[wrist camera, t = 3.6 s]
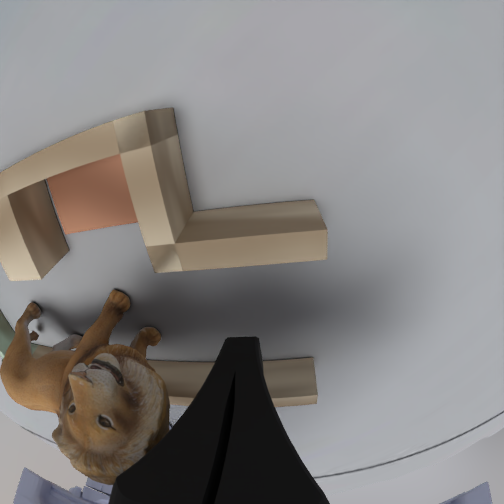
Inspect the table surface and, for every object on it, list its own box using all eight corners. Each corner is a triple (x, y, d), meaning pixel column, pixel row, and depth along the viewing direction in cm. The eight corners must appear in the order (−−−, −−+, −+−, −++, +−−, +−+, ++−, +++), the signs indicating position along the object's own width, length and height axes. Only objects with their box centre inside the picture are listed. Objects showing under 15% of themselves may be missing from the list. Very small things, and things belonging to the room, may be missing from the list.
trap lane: (312, 367, 15) (317, 408, 12) (21, 347, 17) (7, 368, 15) (305, 89, 8) (321, 84, 5) (-50, 209, 10) (-73, 226, 8)
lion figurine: (169, 241, 11) (63, 457, 3) (223, 330, 13) (195, 511, 6) (18, 305, 14) (-43, 394, 7) (60, 356, 17) (16, 446, 9)
